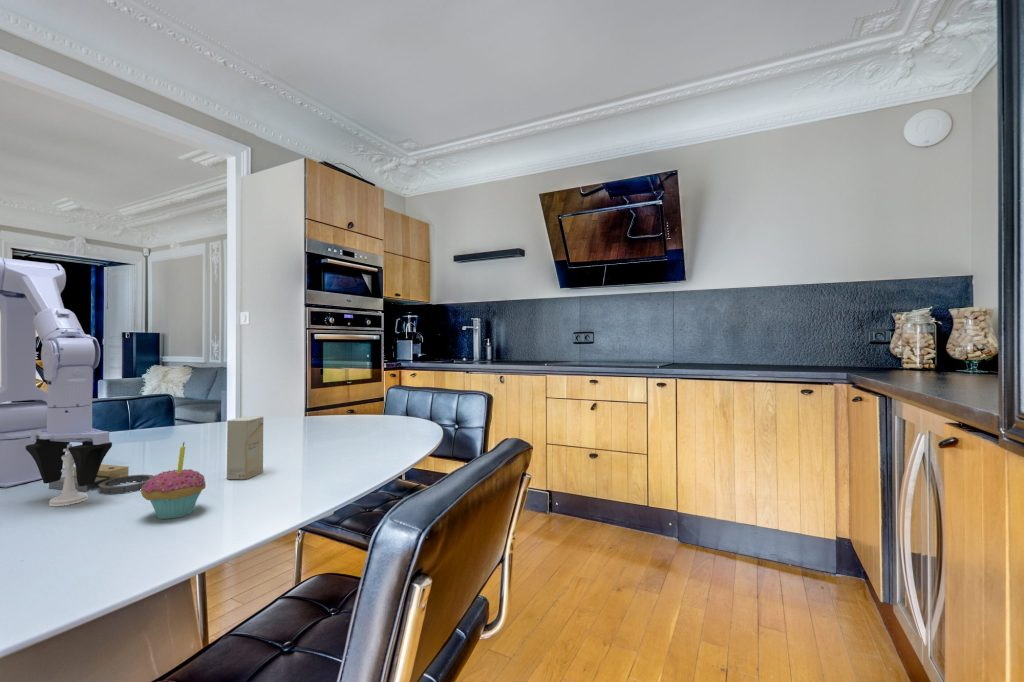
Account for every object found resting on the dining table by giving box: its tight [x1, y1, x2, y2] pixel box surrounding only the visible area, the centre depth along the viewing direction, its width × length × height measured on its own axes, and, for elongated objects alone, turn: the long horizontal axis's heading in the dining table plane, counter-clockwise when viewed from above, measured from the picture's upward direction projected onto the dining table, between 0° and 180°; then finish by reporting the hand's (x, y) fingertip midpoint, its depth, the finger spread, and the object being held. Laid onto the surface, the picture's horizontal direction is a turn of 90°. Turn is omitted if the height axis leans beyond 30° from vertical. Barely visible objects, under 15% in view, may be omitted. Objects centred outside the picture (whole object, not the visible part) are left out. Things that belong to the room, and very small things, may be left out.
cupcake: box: [140, 441, 207, 520], centre depth 74 cm, size 9×8×12 cm
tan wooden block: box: [73, 463, 130, 480], centre depth 91 cm, size 9×4×2 cm, turn 79°
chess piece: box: [48, 443, 89, 507], centre depth 80 cm, size 5×5×10 cm
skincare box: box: [226, 415, 264, 480], centre depth 96 cm, size 6×4×12 cm
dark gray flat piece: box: [48, 474, 155, 495], centre depth 88 cm, size 18×8×2 cm, turn 79°
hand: (69, 483), depth 80 cm, fingers open, 7 cm apart
